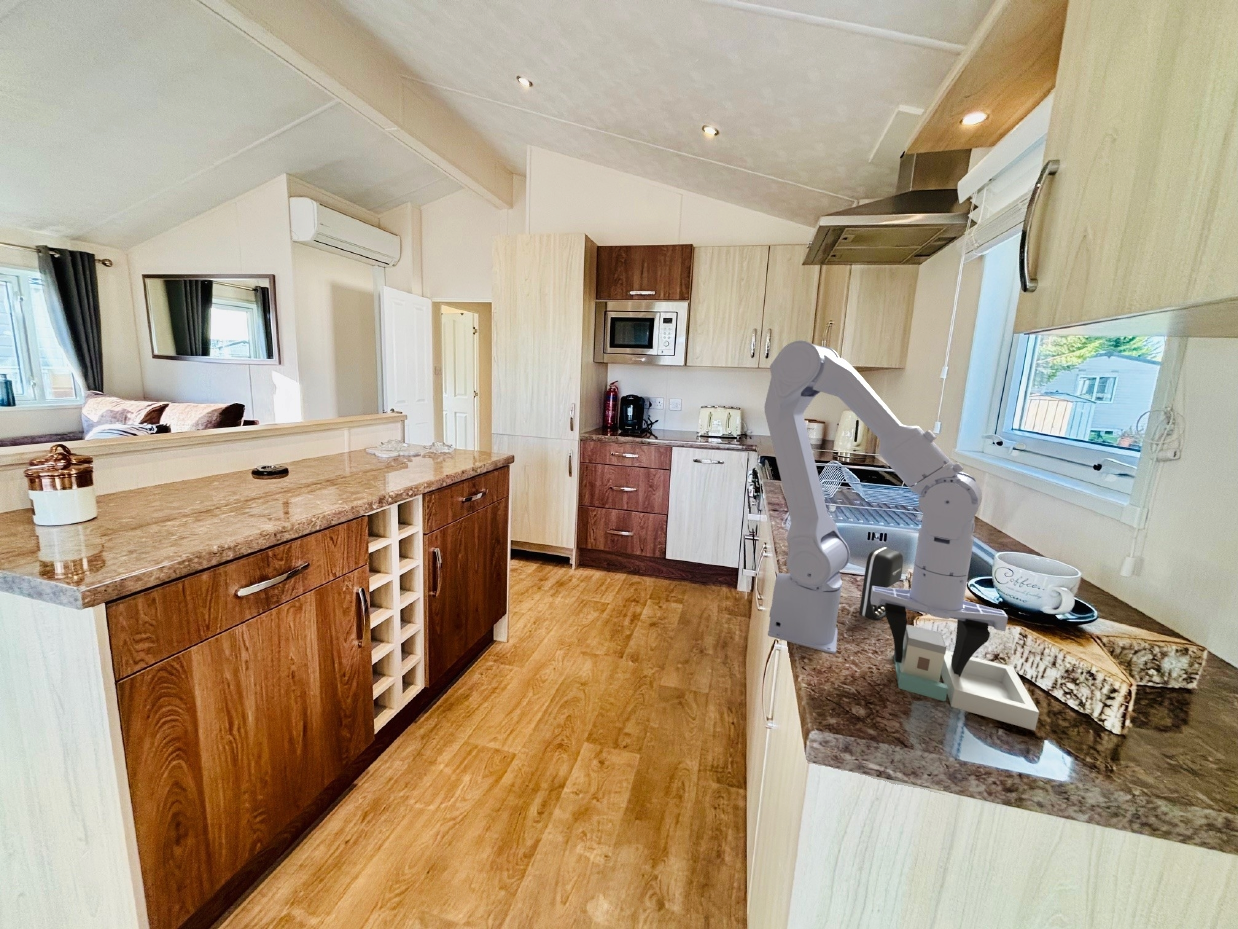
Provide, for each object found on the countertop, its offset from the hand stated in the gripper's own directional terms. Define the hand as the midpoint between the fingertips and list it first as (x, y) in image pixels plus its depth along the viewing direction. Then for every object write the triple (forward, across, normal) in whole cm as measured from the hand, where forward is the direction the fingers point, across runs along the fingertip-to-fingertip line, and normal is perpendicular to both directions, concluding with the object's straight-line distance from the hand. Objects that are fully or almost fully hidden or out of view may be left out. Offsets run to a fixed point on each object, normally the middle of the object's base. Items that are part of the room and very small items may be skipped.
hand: (925, 665), depth 63 cm
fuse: (+2, -1, 0) cm, 2 cm away
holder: (+2, -1, 0) cm, 2 cm away
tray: (+2, +6, 0) cm, 7 cm away
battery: (+2, -5, +18) cm, 19 cm away
